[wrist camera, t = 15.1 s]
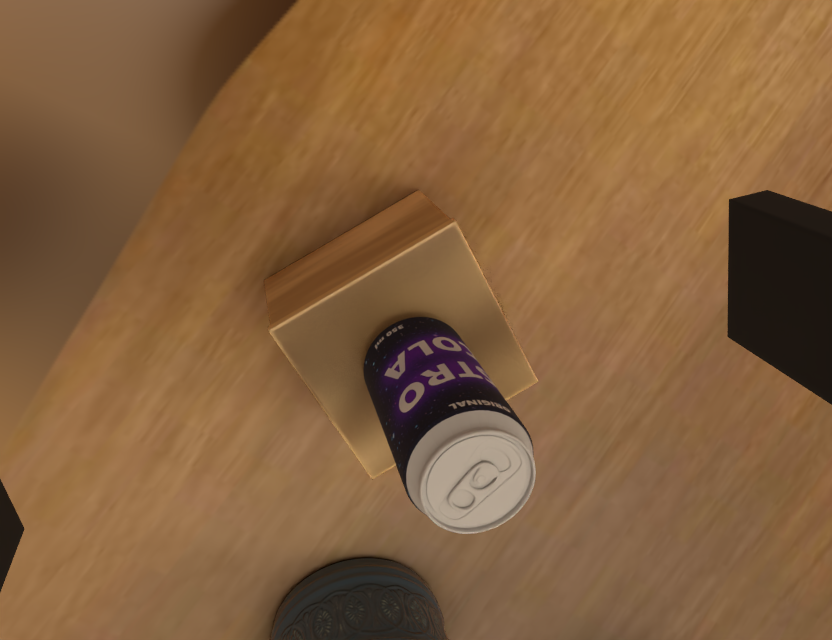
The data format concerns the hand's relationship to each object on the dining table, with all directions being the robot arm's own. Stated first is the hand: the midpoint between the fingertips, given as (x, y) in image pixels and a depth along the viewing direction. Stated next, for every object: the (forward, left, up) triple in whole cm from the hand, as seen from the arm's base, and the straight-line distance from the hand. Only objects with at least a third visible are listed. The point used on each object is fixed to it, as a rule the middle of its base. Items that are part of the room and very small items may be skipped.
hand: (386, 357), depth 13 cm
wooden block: (+13, +4, -33) cm, 35 cm away
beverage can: (+13, +4, -25) cm, 28 cm away
